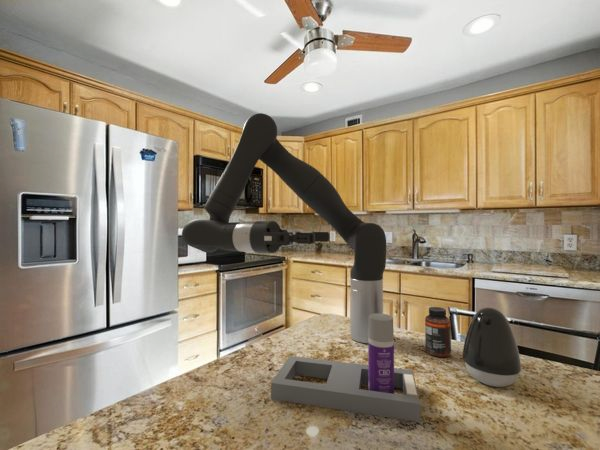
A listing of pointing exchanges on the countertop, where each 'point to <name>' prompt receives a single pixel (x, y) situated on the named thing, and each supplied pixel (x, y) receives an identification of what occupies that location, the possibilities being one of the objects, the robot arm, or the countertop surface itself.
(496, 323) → the pump dispenser
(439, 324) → the supplement bottle
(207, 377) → the countertop surface
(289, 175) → the robot arm
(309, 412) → the countertop surface
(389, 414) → the socket board
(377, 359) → the container
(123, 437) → the countertop surface
